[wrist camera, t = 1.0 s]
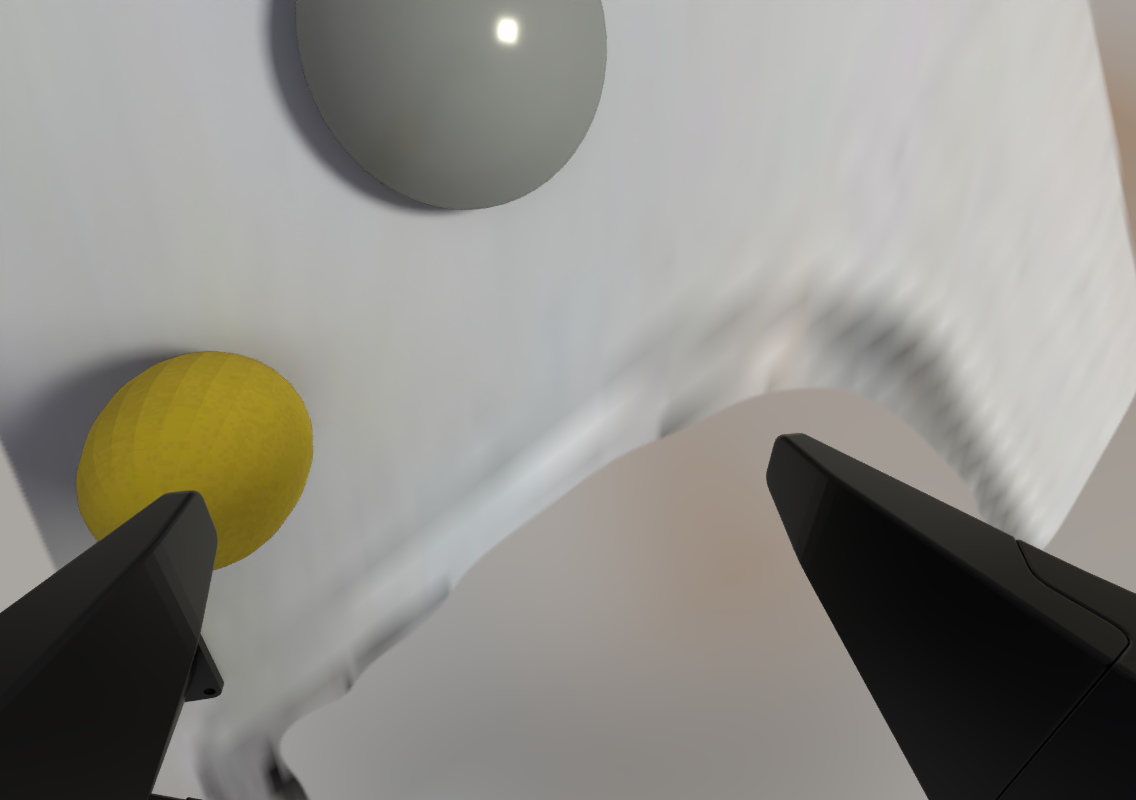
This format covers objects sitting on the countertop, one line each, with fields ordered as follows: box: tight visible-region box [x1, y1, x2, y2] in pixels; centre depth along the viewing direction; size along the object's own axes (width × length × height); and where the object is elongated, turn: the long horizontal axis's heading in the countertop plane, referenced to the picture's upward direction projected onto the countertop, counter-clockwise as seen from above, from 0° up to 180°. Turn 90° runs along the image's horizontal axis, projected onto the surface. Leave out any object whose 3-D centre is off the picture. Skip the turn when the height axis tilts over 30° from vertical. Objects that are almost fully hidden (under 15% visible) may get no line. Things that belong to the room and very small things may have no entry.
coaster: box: [296, 0, 607, 210], centre depth 16 cm, size 8×8×1 cm
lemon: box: [76, 351, 313, 570], centre depth 17 cm, size 6×6×8 cm
